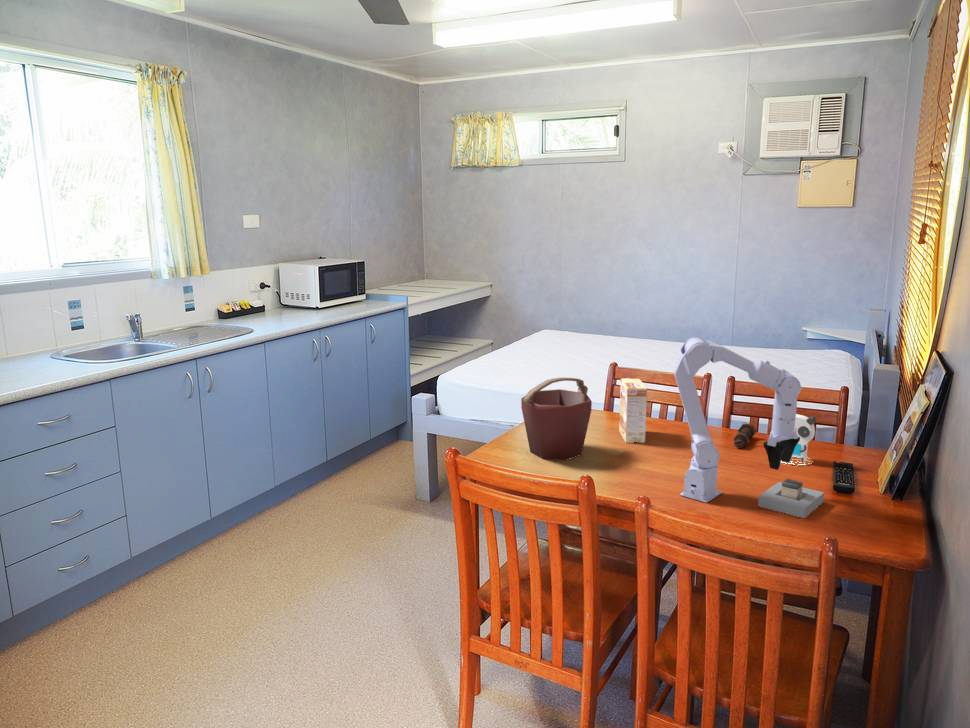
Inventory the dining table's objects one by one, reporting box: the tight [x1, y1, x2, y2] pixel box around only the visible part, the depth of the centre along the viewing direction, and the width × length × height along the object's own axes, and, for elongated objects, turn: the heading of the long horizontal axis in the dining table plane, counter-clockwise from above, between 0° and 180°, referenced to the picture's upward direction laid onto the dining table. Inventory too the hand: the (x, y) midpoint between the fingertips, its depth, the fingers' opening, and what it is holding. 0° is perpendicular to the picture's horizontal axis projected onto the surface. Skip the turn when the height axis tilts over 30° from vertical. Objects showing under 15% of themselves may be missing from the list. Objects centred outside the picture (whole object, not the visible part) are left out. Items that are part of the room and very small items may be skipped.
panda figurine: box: [779, 413, 817, 467], centre depth 223 cm, size 12×11×15 cm
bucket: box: [520, 377, 593, 461], centre depth 231 cm, size 24×22×25 cm
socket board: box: [757, 481, 825, 519], centre depth 190 cm, size 14×12×3 cm
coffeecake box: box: [618, 377, 648, 444], centre depth 248 cm, size 15×7×20 cm, turn 178°
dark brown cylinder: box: [733, 423, 757, 449], centre depth 241 cm, size 6×5×15 cm
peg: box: [781, 478, 804, 501], centre depth 189 cm, size 4×4×6 cm
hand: (779, 465), depth 193 cm, fingers open, 7 cm apart
